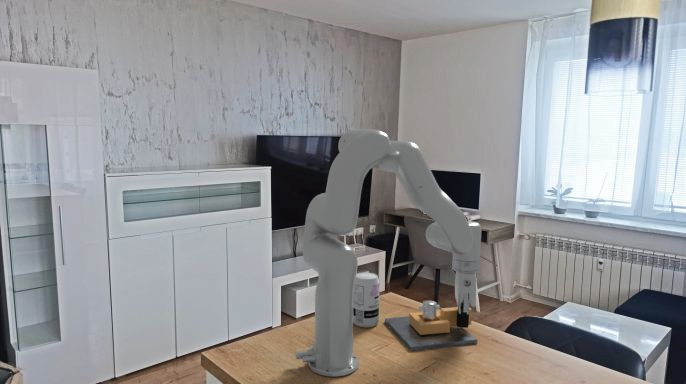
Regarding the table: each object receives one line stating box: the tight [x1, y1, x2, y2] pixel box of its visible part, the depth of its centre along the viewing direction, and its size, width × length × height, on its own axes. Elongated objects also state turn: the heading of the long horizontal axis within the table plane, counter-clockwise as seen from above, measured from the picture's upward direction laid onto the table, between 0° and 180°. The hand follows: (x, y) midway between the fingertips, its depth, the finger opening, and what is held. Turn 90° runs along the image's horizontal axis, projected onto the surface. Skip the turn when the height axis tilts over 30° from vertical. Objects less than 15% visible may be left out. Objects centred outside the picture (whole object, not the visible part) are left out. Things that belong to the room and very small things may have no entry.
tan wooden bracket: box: [408, 306, 473, 335], centre depth 137 cm, size 9×18×5 cm, turn 103°
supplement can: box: [353, 271, 381, 329], centre depth 142 cm, size 8×8×15 cm
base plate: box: [384, 300, 478, 352], centre depth 136 cm, size 22×20×9 cm
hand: (462, 326), depth 134 cm, fingers closed
